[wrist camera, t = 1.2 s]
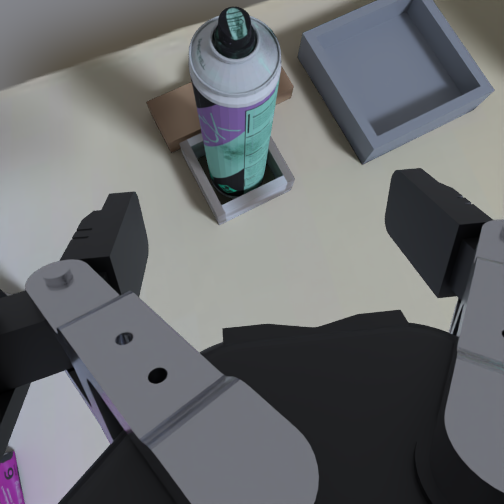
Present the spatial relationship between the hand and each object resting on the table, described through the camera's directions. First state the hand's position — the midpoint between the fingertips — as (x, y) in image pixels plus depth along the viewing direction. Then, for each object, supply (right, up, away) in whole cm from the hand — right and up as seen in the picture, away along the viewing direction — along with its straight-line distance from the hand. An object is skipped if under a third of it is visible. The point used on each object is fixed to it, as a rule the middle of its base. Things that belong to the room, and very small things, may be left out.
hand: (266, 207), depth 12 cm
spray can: (-2, +7, +27) cm, 28 cm away
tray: (+14, +17, +29) cm, 37 cm away
